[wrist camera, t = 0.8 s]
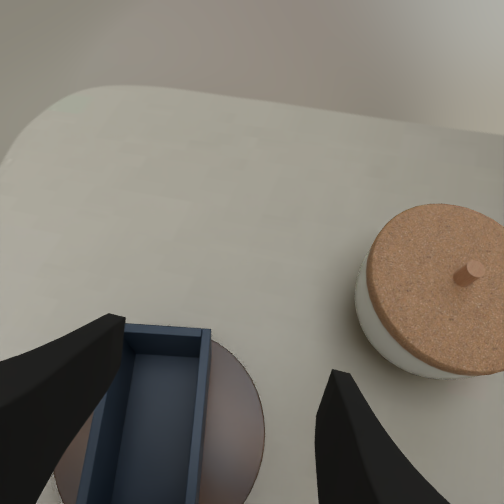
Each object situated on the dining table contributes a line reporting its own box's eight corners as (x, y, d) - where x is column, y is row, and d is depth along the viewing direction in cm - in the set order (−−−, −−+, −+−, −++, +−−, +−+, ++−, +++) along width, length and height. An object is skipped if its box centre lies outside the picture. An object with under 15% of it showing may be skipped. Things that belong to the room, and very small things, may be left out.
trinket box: (309, 332, 31) (345, 286, 22) (377, 230, 35) (429, 158, 26) (442, 425, 29) (537, 413, 20) (497, 304, 33) (595, 252, 24)
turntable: (211, 596, 24) (211, 601, 23) (11, 495, 25) (5, 496, 24) (291, 377, 29) (293, 375, 28) (124, 303, 30) (122, 299, 30)
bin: (194, 553, 24) (188, 583, 18) (95, 549, 23) (60, 578, 18) (211, 352, 28) (211, 328, 23) (130, 347, 28) (111, 322, 23)
